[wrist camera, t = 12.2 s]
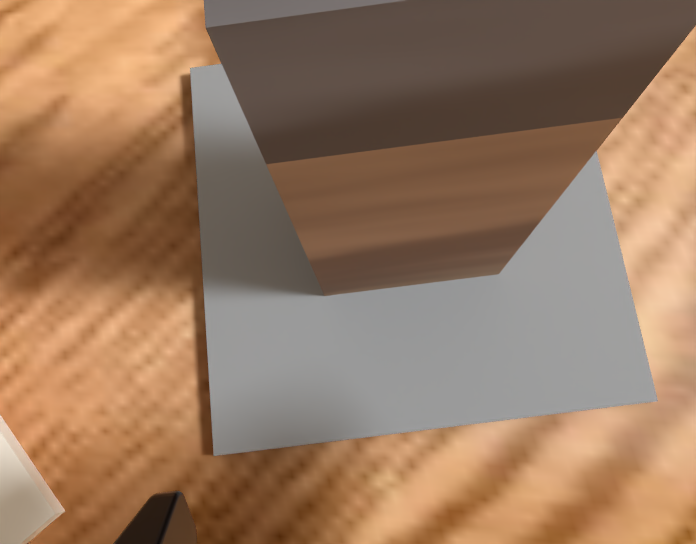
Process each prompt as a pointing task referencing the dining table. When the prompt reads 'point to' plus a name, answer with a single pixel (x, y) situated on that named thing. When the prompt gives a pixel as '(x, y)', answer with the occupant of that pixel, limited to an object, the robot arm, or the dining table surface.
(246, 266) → the slate mat
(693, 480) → the dining table surface
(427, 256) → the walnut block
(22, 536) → the carton
